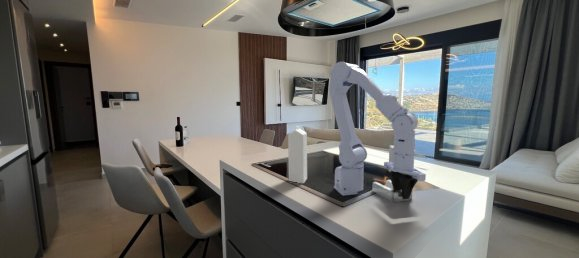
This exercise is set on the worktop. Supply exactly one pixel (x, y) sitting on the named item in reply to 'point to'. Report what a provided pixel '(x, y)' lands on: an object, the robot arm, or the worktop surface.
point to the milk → (297, 155)
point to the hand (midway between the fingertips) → (401, 196)
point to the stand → (423, 186)
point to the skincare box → (391, 154)
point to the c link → (389, 191)
